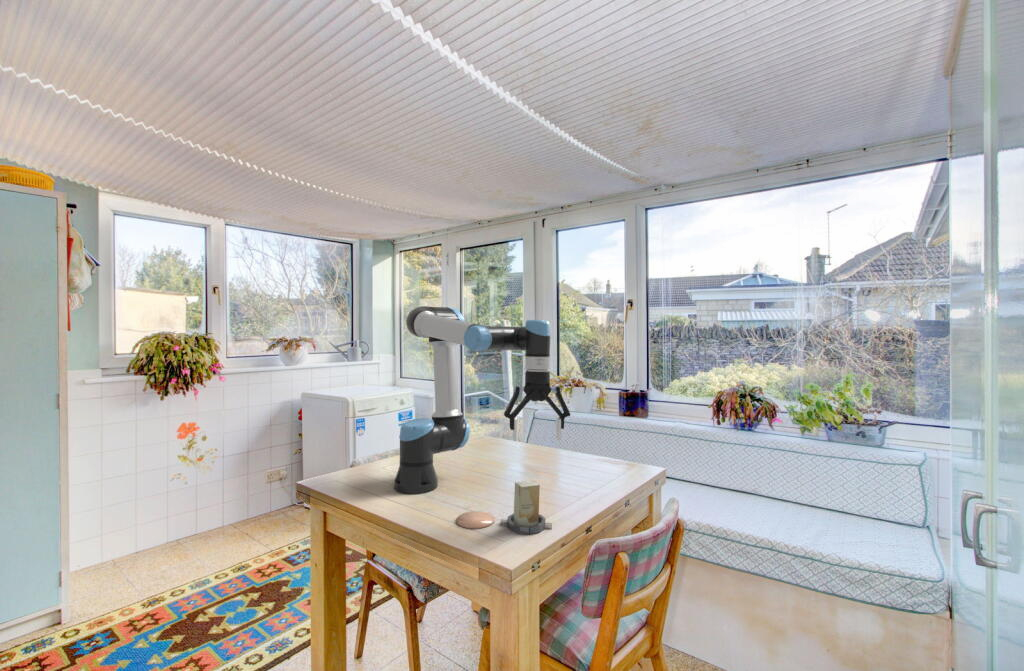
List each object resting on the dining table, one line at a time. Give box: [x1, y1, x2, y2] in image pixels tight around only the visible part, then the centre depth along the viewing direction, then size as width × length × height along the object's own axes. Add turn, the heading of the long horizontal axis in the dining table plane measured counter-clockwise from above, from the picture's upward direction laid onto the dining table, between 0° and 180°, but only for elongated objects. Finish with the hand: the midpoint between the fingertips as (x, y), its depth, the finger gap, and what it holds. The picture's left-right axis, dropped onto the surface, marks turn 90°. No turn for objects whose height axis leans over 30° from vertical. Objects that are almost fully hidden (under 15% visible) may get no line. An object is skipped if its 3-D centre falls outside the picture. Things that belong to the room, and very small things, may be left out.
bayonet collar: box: [500, 513, 553, 535], centre depth 129 cm, size 15×11×2 cm
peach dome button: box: [456, 510, 495, 530], centre depth 132 cm, size 11×11×1 cm
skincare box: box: [513, 480, 541, 526], centre depth 129 cm, size 6×4×12 cm
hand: (536, 440), depth 138 cm, fingers open, 13 cm apart
